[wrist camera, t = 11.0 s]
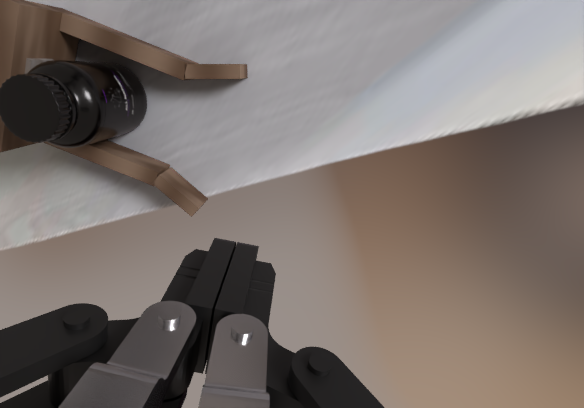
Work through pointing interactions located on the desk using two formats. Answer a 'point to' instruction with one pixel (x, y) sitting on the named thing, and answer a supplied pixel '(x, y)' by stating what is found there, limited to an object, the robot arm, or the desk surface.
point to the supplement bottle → (72, 103)
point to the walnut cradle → (63, 46)
